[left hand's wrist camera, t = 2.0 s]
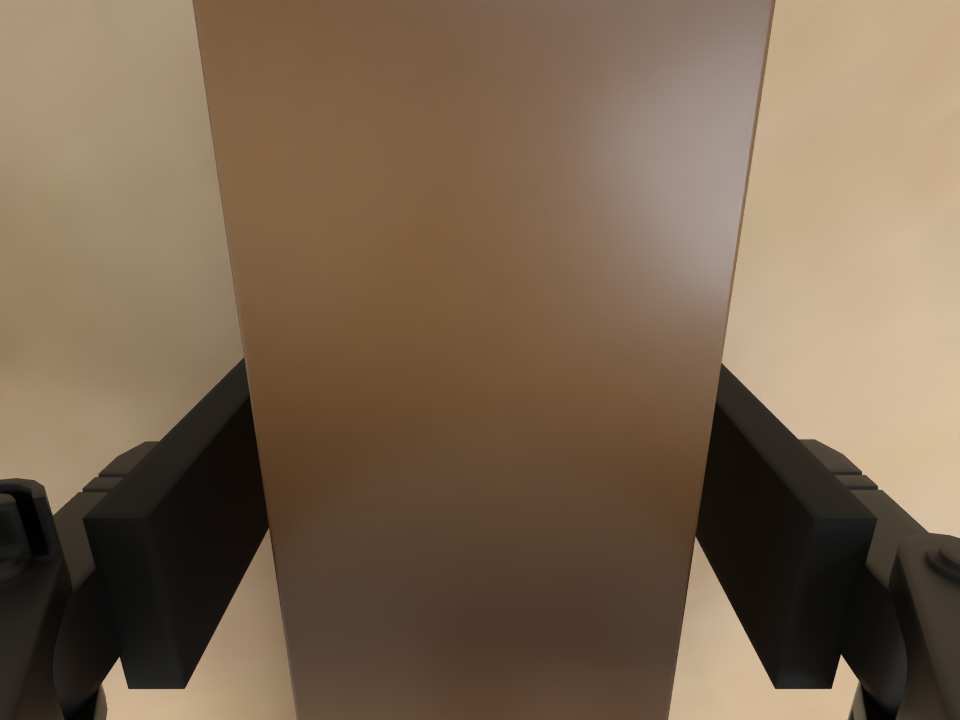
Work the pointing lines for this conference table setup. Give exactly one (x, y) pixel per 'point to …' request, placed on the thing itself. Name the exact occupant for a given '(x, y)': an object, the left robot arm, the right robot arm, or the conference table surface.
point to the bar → (483, 333)
